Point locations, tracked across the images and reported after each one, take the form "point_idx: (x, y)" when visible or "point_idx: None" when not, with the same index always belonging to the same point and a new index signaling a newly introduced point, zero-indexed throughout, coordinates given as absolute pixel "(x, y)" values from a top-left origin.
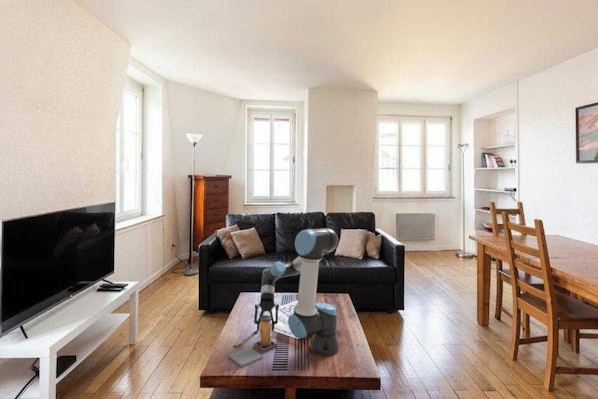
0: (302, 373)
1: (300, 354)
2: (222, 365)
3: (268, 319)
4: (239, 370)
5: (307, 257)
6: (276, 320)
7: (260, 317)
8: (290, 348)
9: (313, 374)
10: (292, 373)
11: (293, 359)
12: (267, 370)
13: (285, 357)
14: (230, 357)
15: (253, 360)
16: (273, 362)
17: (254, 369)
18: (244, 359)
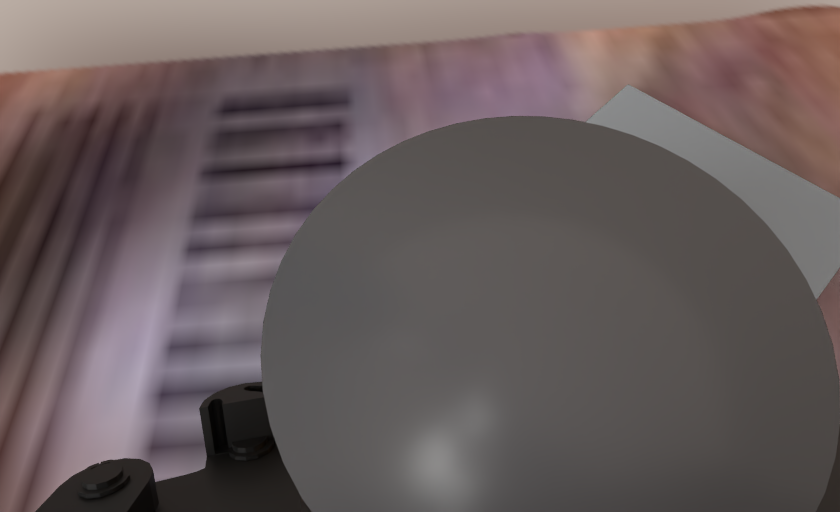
0: (103, 75)
1: (12, 350)
2: (823, 109)
3: (387, 155)
4: (629, 66)
5: None
6: (96, 483)
7: (790, 295)
8: None
9: (19, 72)
10: (183, 69)
11: (125, 247)
12: (389, 83)
13: (206, 276)
14: (826, 199)
15: None
16: None
17: (504, 86)
18: None
